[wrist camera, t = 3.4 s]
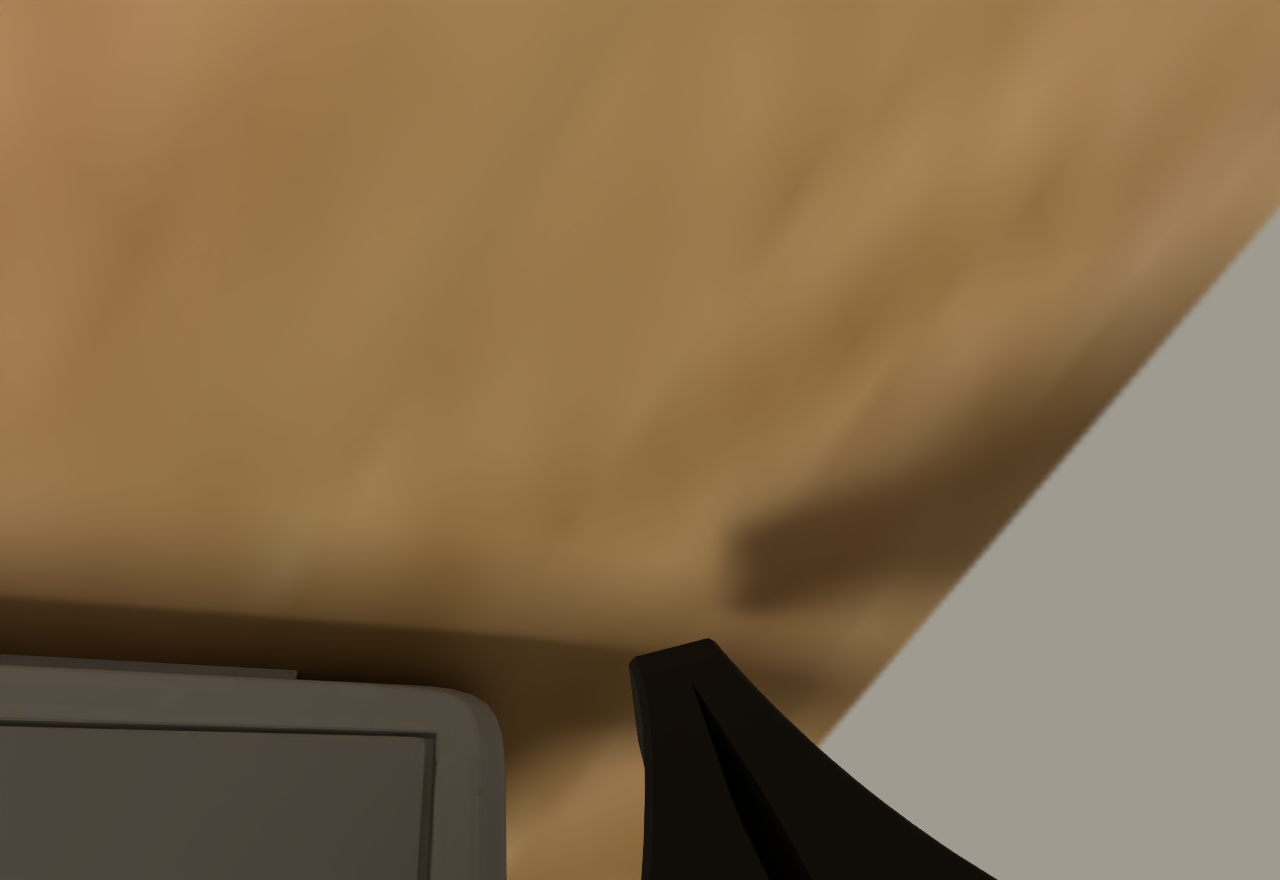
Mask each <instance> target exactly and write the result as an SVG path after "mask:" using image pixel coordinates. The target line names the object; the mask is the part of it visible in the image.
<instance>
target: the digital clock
mask: <svg viewBox="0 0 1280 880" xmlns="http://www.w3.org/2000/svg"><path fill="white" fill-rule="evenodd" d="M297 674H298V671H296V670H281V669H263V668H244V667H226V666H208V665H190V664H172V663H154V662H136V661H118V660H100V659H81V658H63V657H45V656H27V655H9V654H0V880H507V873H506V777H505V759H504V746H503V740H502V733H501V730H500V727H499V723H498V720H497V717H496V716H495V714H494V713H493V711H492V710H491V708H490V707H489V705H488V704H486V703H485V702H483V701H482V700H480V699H478V698H477V697H475V696H474V695H471V694H468V693H465V692H461V691H458V690H455V689H449V688H440V687H431V686H417V685H397V684H377V683H357V682H338V681H318V680H298V679H297Z"/></svg>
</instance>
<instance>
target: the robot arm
mask: <svg viewBox="0 0 1280 880" xmlns="http://www.w3.org/2000/svg"><path fill="white" fill-rule="evenodd" d="M629 670H630V678H631V686H632V694H633V702H634V710H635V718H636V726H637V735H638V742H639V746H640V750H641V754H642V758H643V763H644V767H645V812H644V844H643V862H642V876H641V880H997V879H995V878H994V877H992V876H990V875H989V874H987V873H986V872H984V871H983V870H981V869H979V868H978V867H976V866H975V865H973V864H972V863H970V862H968V861H967V860H965V859H963V858H962V857H960V856H959V855H957V854H956V853H954V852H952V851H951V850H950V849H948V848H947V847H945V846H944V845H942V844H941V843H939V842H938V841H936V840H935V839H934V838H932V837H931V836H929V835H928V834H927V833H925V832H924V831H922V830H921V829H919V828H918V827H917V826H915V825H914V824H912V823H911V822H910V821H908V820H907V819H906V818H904V817H903V816H902V815H900V814H899V813H898V812H896V811H895V810H894V809H892V808H891V807H889V806H888V805H887V804H885V803H884V802H883V801H882V800H880V799H879V798H878V797H876V796H875V795H874V794H873V793H871V792H870V791H868V789H866V788H865V787H864V786H863V785H861V784H860V783H859V782H858V781H856V780H855V779H854V778H853V777H852V776H850V775H849V774H848V773H847V772H846V771H845V770H843V769H842V768H841V767H840V766H839V765H838V764H836V763H835V762H834V761H833V760H832V759H830V758H829V757H828V756H827V755H826V754H825V753H824V752H823V751H821V750H820V749H819V748H818V747H817V746H816V745H815V744H814V743H812V742H811V741H810V740H809V739H808V738H807V737H806V736H805V735H804V734H803V733H802V732H801V731H800V730H799V729H798V728H796V727H795V726H794V725H793V724H792V723H791V722H790V721H789V720H788V719H787V718H786V717H785V716H784V715H783V714H782V713H781V712H780V711H779V710H778V709H777V708H776V707H775V706H774V705H773V704H772V703H771V702H770V701H769V700H768V699H767V698H766V697H765V696H764V695H763V694H762V693H761V692H760V691H759V690H758V689H757V688H756V687H755V686H754V685H753V684H752V683H751V682H750V681H749V680H748V679H747V678H746V676H745V675H744V674H743V673H742V672H741V671H740V670H739V669H738V668H737V667H736V666H735V664H734V663H733V662H732V661H731V660H730V659H729V658H728V656H727V655H726V654H725V653H724V652H723V651H722V650H721V648H720V647H719V646H718V645H717V644H716V642H714V641H713V640H711V639H709V638H707V639H703V640H699V641H695V642H691V643H687V644H683V645H680V646H676V647H672V648H668V649H664V650H660V651H656V652H652V653H648V654H645V655H641V656H637V657H635V658H634V659H633V660H632V661H631V662H630V663H629Z"/></svg>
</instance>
